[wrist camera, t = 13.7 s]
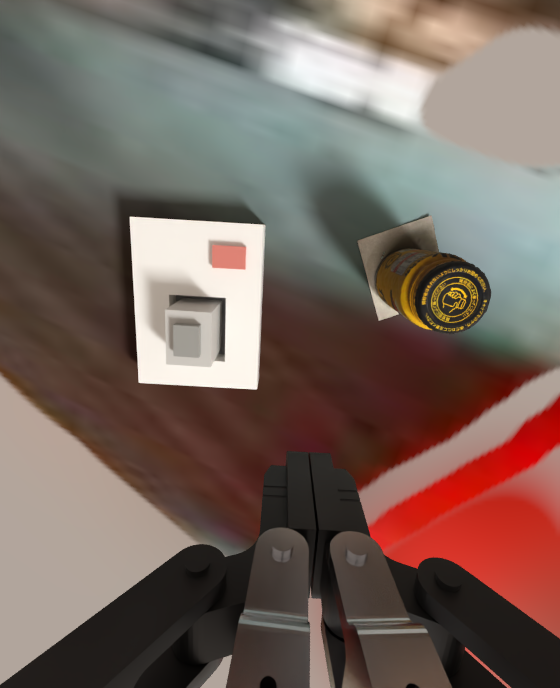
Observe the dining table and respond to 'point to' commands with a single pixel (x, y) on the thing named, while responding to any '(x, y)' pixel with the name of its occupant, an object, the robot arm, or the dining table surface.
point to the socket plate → (198, 295)
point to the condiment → (423, 279)
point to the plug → (193, 332)
